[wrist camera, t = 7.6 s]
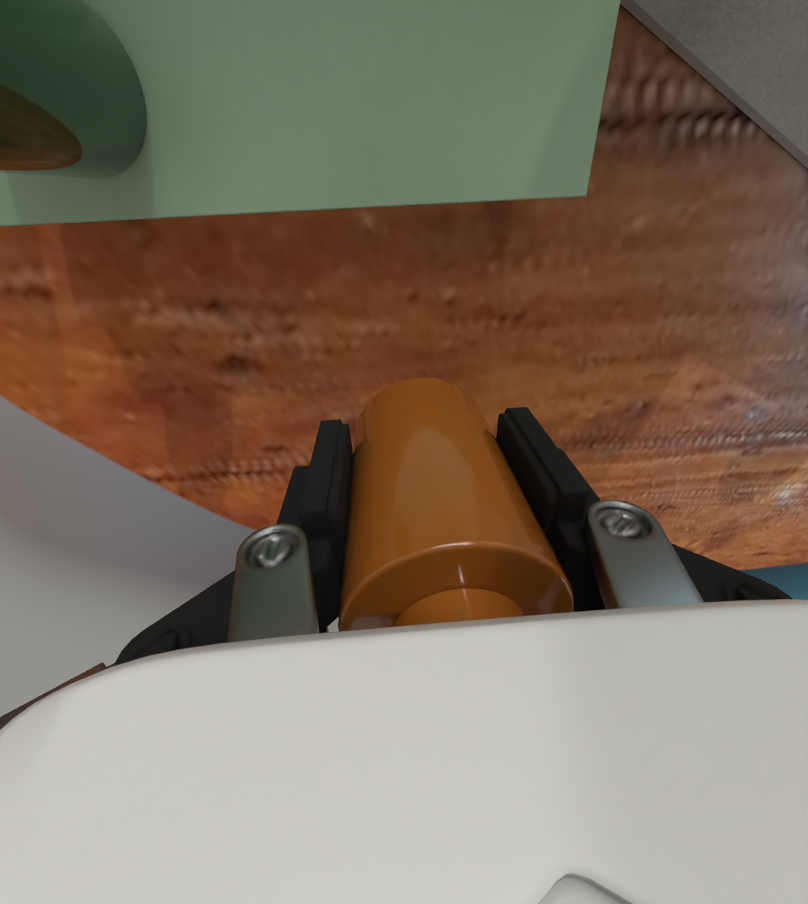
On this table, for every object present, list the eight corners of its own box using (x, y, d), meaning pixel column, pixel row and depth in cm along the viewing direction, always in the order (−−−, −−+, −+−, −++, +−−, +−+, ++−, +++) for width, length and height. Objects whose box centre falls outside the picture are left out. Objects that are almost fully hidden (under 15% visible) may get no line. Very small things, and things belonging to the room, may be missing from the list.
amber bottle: (489, 371, 12) (705, 686, 4) (480, 485, 14) (609, 825, 6) (347, 380, 12) (294, 722, 4) (361, 494, 14) (345, 851, 6)
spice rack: (546, -127, 14) (860, -731, 5) (516, 197, 20) (640, 196, 10) (-11, -110, 14) (-811, -746, 5) (113, 217, 19) (-135, 235, 10)
